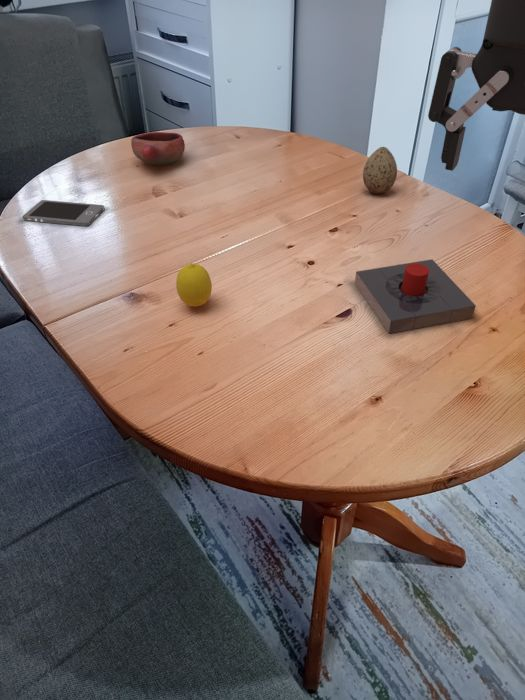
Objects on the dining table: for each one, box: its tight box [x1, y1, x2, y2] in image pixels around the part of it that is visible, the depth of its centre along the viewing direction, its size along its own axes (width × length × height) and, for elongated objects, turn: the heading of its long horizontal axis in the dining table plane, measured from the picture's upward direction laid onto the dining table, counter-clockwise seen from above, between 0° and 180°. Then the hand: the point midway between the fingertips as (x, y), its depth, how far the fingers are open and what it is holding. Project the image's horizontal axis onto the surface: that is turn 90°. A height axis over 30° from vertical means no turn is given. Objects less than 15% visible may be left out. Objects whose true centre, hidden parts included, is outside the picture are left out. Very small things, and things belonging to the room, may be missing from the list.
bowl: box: [130, 131, 186, 166], centre depth 129 cm, size 16×13×8 cm
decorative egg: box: [362, 146, 398, 195], centre depth 115 cm, size 7×7×10 cm
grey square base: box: [354, 258, 477, 335], centre depth 87 cm, size 14×14×2 cm
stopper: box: [401, 263, 429, 296], centre depth 86 cm, size 4×4×6 cm
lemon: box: [175, 263, 213, 308], centre depth 85 cm, size 6×6×8 cm
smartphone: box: [21, 199, 105, 227], centre depth 113 cm, size 15×8×1 cm, turn 77°
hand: (494, 175), depth 52 cm, fingers open, 8 cm apart
